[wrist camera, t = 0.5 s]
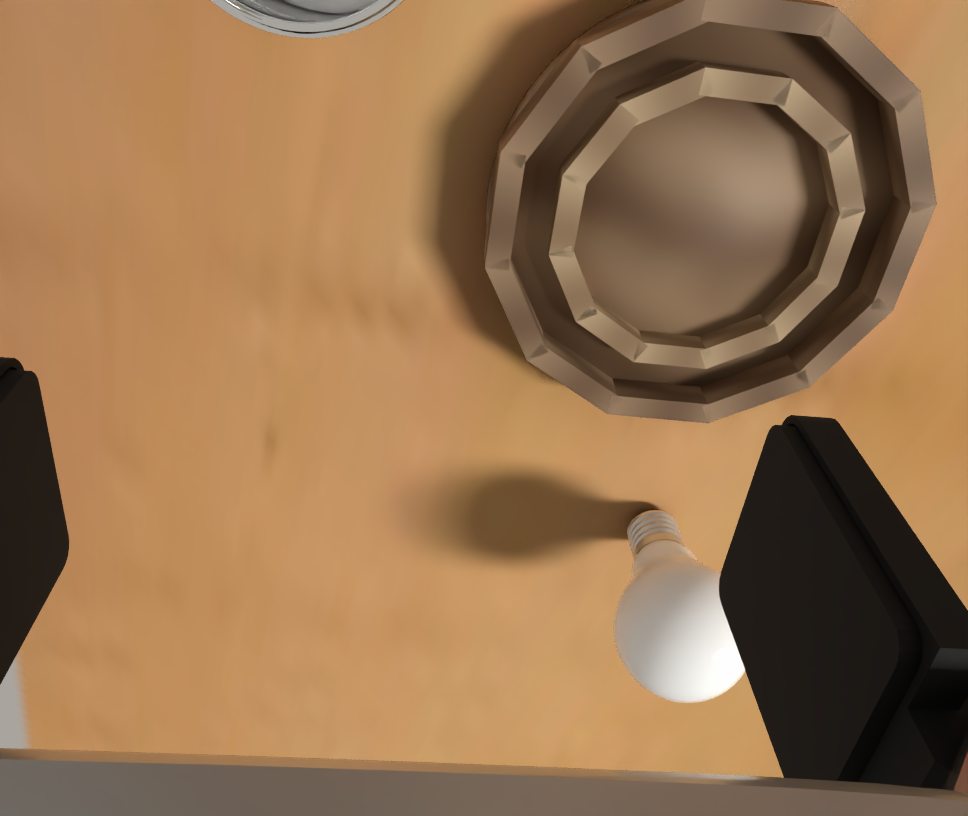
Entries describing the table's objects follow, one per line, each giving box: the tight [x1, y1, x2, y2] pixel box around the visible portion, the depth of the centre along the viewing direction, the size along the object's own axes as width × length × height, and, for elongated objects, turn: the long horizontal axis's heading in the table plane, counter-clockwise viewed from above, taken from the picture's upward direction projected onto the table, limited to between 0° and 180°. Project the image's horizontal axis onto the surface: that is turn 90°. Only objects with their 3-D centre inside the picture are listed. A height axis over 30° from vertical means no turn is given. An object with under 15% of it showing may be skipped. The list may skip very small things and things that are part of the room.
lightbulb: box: [613, 510, 745, 703], centre depth 42 cm, size 6×6×11 cm
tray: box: [484, 0, 937, 423], centre depth 37 cm, size 18×18×3 cm
